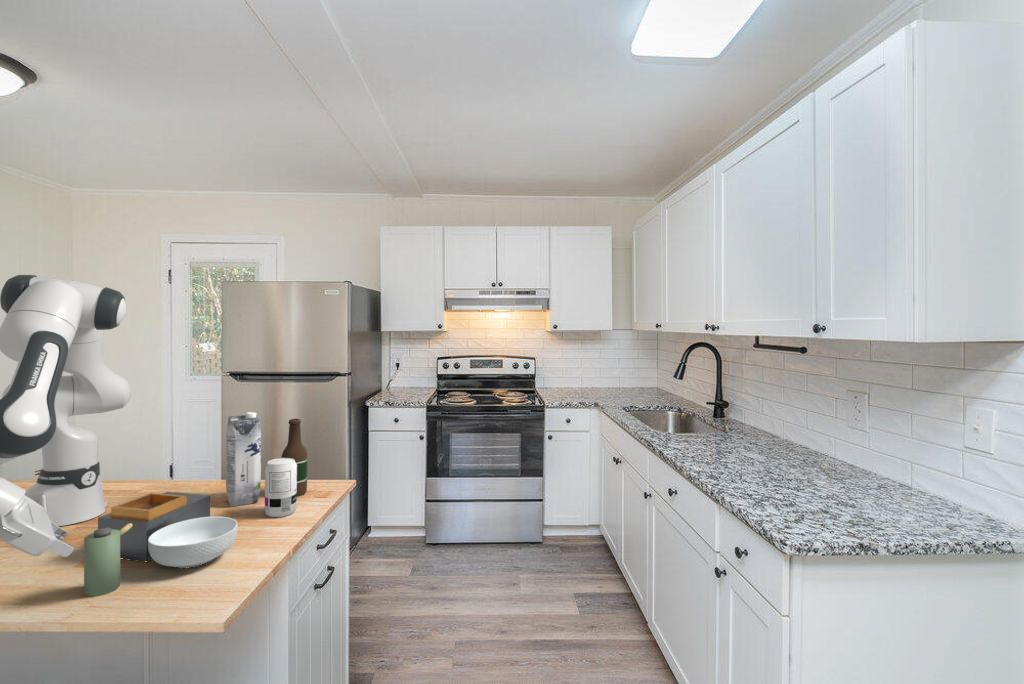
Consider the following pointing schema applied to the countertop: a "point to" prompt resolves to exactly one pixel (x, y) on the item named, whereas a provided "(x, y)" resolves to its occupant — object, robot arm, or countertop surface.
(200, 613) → the countertop surface
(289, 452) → the beer bottle
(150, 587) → the countertop surface
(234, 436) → the juice carton
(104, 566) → the oil can
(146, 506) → the box
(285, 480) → the supplement can
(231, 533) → the cereal bowl
